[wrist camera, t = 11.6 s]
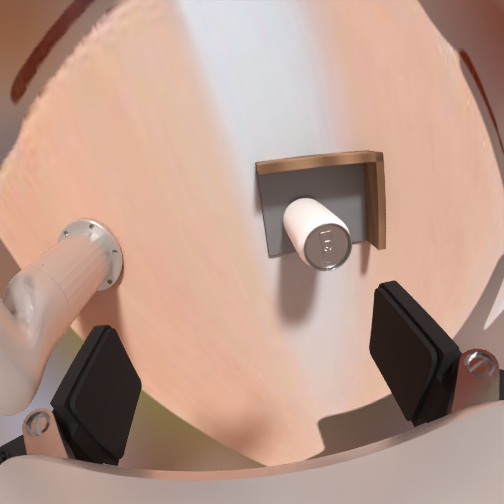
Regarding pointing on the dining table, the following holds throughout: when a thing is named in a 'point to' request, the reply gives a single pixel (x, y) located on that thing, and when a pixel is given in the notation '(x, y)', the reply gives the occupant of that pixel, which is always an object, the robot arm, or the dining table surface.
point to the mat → (317, 188)
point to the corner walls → (372, 181)
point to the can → (317, 234)
